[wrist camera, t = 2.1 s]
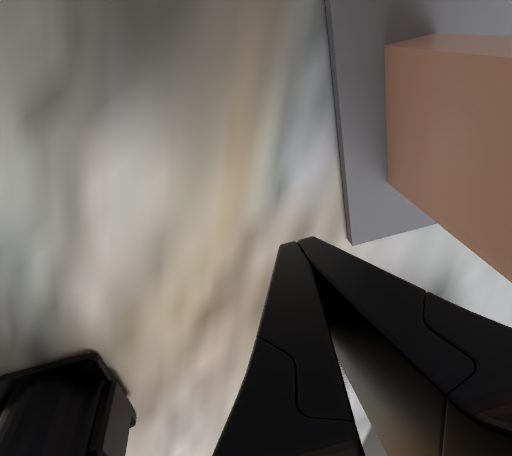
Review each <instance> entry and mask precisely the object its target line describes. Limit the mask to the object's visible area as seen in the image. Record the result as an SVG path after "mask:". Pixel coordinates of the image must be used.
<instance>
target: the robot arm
mask: <svg viewBox="0 0 512 456" xmlns="http://www.w3.org/2000/svg"><path fill="white" fill-rule="evenodd" d="M337 358H338V359H337ZM338 360H339V362H340V364H341V366H342V368H343V370H344V372H345V374H346V376H347V378H348V380H349V382H350V384H351V386H352V387H353V389H354V391H355V393H356V395H357V397H358V399H359V401H360V403H361V405H362V407H363V409H364V411H365V413H366V415H367V417H368V419H369V421H370V422H371V424H372V426H373V428H374V430H375V432H376V434H377V436H378V438H379V440H380V442H381V444H382V446H383V448H384V450H385V452H386V454H387V456H512V328H511V327H508V326H506V325H503V324H500V323H498V322H496V321H493V320H491V319H488V318H486V317H483V316H481V315H478V314H476V313H473V312H471V311H469V310H467V309H464V308H462V307H460V306H458V305H456V304H453V303H451V302H449V301H447V300H445V299H443V298H440V297H438V296H436V295H434V294H432V293H430V292H427V293H426V291H425V290H424V289H422V288H420V287H417V286H415V285H413V284H411V283H409V282H407V281H405V280H403V279H401V278H399V277H397V276H395V275H393V274H391V273H389V272H386V271H384V270H382V269H380V268H378V267H376V266H374V265H372V264H370V263H368V262H366V261H364V260H362V259H360V258H358V257H355V256H353V255H351V254H349V253H347V252H345V251H343V250H341V249H339V248H337V247H335V246H333V245H331V244H329V243H327V242H325V241H322V240H320V239H318V238H316V237H313V236H312V237H308V238H304V239H300V240H298V242H296V241H293V242H289V243H285V244H281V245H280V246H279V250H278V254H277V258H276V262H275V265H274V269H273V273H272V277H271V281H270V285H269V289H268V293H267V297H266V301H265V305H264V309H263V312H262V316H261V320H260V324H259V328H258V332H257V336H256V340H255V343H254V347H253V351H252V354H251V358H250V361H249V364H248V368H247V371H246V374H245V377H244V380H243V382H242V385H241V387H240V390H239V393H238V395H237V398H236V400H235V403H234V405H233V407H232V410H231V412H230V414H229V417H228V419H227V422H226V424H225V426H224V429H223V431H222V434H221V436H220V438H219V441H218V443H217V445H216V448H215V450H214V453H213V455H212V456H365V453H364V450H363V447H362V444H361V441H360V437H359V434H358V431H357V427H356V425H355V420H354V416H353V413H352V409H351V405H350V402H349V398H348V395H347V391H346V387H345V384H344V380H343V377H342V373H341V369H340V366H339V362H338ZM89 362H92V363H89ZM136 418H137V417H136V414H135V413H134V411H133V407H132V405H131V403H130V402H129V400H128V398H127V397H126V395H125V394H124V392H123V390H122V389H121V387H120V386H119V384H118V383H117V382H116V381H115V380H114V379H113V378H112V376H111V374H110V373H109V371H108V370H107V368H106V366H105V365H104V363H103V362H102V360H101V358H100V357H99V356H98V355H96V354H94V353H87V354H83V355H79V356H75V357H72V358H68V359H64V360H61V361H57V362H53V363H49V364H46V365H42V366H38V367H34V368H31V369H27V370H23V371H19V372H16V373H12V374H8V375H4V376H1V377H0V456H125V453H126V447H127V441H128V435H129V428H131V427H133V426H134V425H135V424H136Z"/></svg>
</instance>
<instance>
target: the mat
mask: <svg viewBox="0 0 512 456" xmlns="http://www.w3.org/2000/svg"><path fill="white" fill-rule="evenodd" d="M325 7H326V18H327V28H328V38H329V49H330V59H331V69H332V79H333V90H334V100H335V110H336V121H337V131H338V141H339V151H340V162H341V172H342V182H343V193H344V203H345V213H346V224H347V234H348V241H349V242H350V243H351V245H352V246H354V245H358V244H361V243H365V242H369V241H373V240H376V239H380V238H384V237H388V236H392V235H395V234H399V233H403V232H407V231H411V230H414V229H418V228H422V227H426V226H429V225H433V224H437V222H436V221H434V220H433V219H432V218H431V217H429V216H428V215H427V214H426V213H424V212H423V211H422V210H421V209H419V208H418V207H417V206H416V205H414V204H413V203H412V202H411V201H409V200H408V199H407V198H406V197H404V196H403V195H402V194H401V193H399V192H398V191H397V190H396V189H394V188H393V187H392V186H391V185H389V184H388V162H387V127H386V92H385V57H384V46H385V45H389V44H393V43H397V42H401V41H405V40H409V39H413V38H417V37H421V36H425V35H429V34H469V35H506V36H512V0H325Z"/></svg>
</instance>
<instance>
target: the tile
mask: <svg viewBox="0 0 512 456" xmlns="http://www.w3.org/2000/svg"><path fill="white" fill-rule="evenodd" d="M384 57H385V92H386V127H387V162H388V184H389V185H391V186H392V187H393V188H394V189H396V190H397V191H398V192H399V193H401V194H402V195H403V196H404V197H406V198H407V199H408V200H409V201H411V202H412V203H413V204H414V205H416V206H417V207H418V208H419V209H421V210H422V211H423V212H424V213H426V214H427V215H428V216H429V217H431V218H432V219H433V220H434V221H436V222H437V223H438V224H439V225H441V226H442V227H443V228H444V229H445V230H447V231H448V232H449V233H450V234H452V235H453V236H454V237H455V238H457V239H458V240H459V241H460V242H462V243H463V244H464V245H465V246H467V247H468V248H469V249H470V250H472V251H473V252H474V253H475V254H477V255H478V256H479V257H480V258H482V259H483V260H484V261H485V262H487V263H488V264H489V265H490V266H492V267H493V268H494V269H495V270H497V271H498V272H499V273H500V274H502V275H503V276H504V277H505V278H507V279H508V280H509V281H510V282H512V36H506V35H469V34H429V35H425V36H421V37H417V38H413V39H409V40H405V41H401V42H397V43H393V44H389V45H385V46H384Z"/></svg>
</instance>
